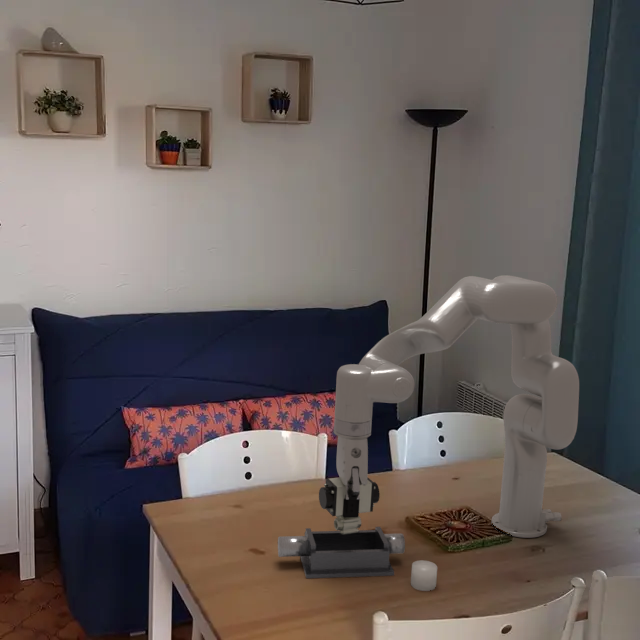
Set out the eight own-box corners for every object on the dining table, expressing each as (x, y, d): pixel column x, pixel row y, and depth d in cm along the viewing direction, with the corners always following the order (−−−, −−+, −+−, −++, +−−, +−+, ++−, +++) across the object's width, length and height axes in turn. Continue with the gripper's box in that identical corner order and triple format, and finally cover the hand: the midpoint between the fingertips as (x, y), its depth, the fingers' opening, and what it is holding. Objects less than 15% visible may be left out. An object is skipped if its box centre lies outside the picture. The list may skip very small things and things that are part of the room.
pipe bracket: (394, 548, 182) (396, 522, 181) (408, 574, 170) (410, 547, 169) (275, 551, 178) (276, 524, 177) (281, 579, 166) (282, 551, 165)
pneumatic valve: (377, 532, 172) (381, 477, 170) (325, 539, 168) (327, 482, 166) (366, 521, 178) (369, 467, 175) (315, 527, 173) (317, 472, 171)
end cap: (431, 578, 170) (433, 560, 169) (439, 590, 165) (440, 572, 164) (407, 579, 169) (409, 560, 168) (414, 591, 164) (415, 572, 163)
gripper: (380, 440, 161) (374, 528, 164) (362, 413, 178) (357, 494, 181) (341, 440, 160) (336, 529, 163) (327, 413, 176) (323, 494, 180)
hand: (347, 509), depth 172 cm, fingers closed on pneumatic valve, 5 cm apart
